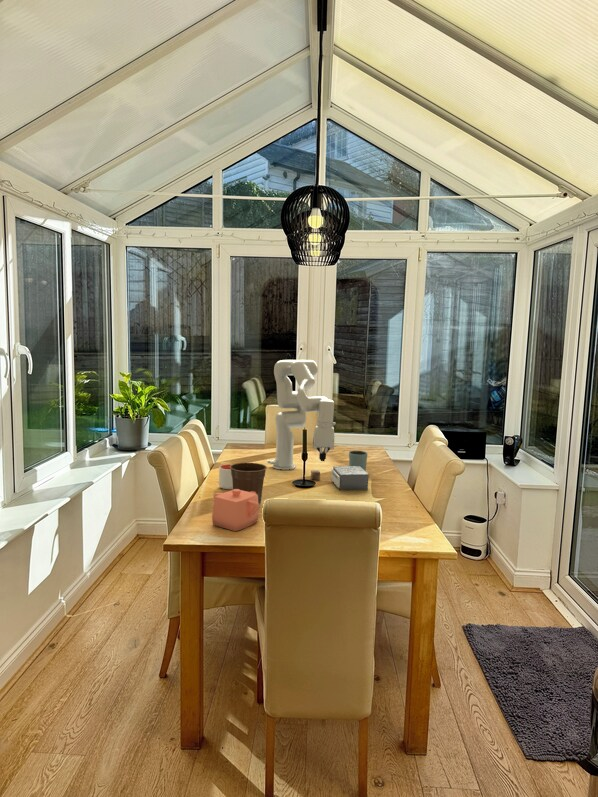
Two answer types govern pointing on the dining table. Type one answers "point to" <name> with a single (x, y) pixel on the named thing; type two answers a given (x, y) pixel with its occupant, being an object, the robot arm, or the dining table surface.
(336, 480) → the white drawer
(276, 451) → the robot arm
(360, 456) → the grey green tumbler
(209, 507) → the dining table surface
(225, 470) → the cup
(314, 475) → the walnut block
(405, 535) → the dining table surface
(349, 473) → the housing
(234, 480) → the plant pot
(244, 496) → the teapot
